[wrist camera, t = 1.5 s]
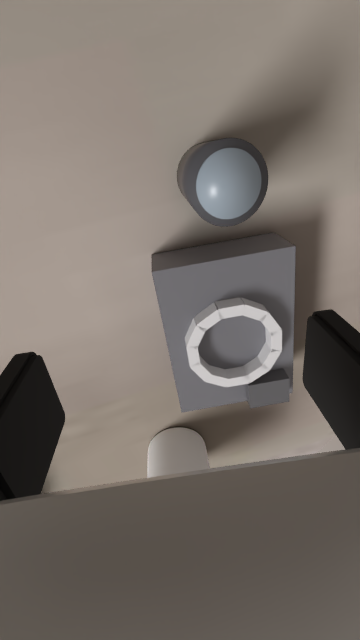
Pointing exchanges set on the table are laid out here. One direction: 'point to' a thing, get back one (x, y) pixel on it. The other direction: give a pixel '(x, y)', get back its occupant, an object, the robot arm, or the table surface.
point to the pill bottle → (176, 452)
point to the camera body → (229, 320)
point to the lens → (223, 180)
